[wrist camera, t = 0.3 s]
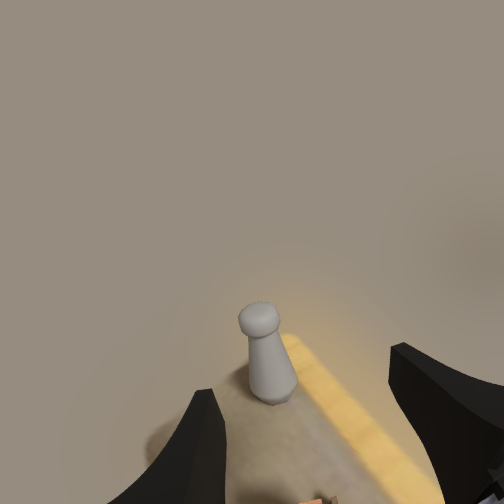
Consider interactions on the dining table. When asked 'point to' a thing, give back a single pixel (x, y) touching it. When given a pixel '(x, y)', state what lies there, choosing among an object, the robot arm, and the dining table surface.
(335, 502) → the box
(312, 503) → the block
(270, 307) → the salt shaker
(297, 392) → the dining table surface
